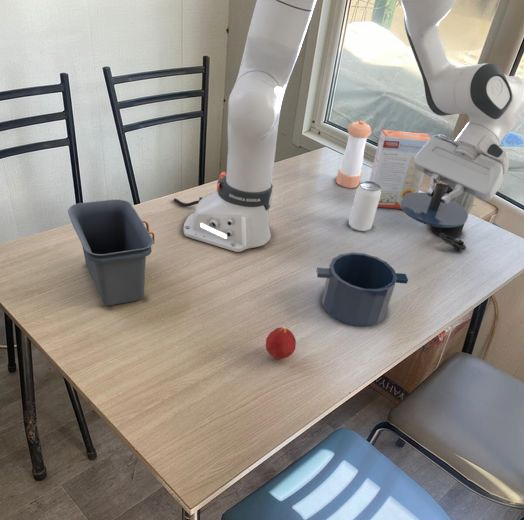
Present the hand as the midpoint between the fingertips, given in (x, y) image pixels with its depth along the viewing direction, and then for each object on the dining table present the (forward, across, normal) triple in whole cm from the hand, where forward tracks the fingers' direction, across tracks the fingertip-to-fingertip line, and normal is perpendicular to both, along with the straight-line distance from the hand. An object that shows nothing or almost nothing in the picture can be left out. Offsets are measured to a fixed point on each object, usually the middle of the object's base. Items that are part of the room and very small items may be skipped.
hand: (436, 198), depth 121 cm
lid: (+2, 0, +3) cm, 3 cm away
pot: (+31, 0, -3) cm, 31 cm away
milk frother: (-3, -4, +31) cm, 31 cm away
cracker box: (-4, -26, +32) cm, 41 cm away
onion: (+49, +2, -21) cm, 54 cm away
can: (+9, -22, +19) cm, 30 cm away
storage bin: (+57, -37, -29) cm, 74 cm away
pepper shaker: (-4, -42, +32) cm, 53 cm away
